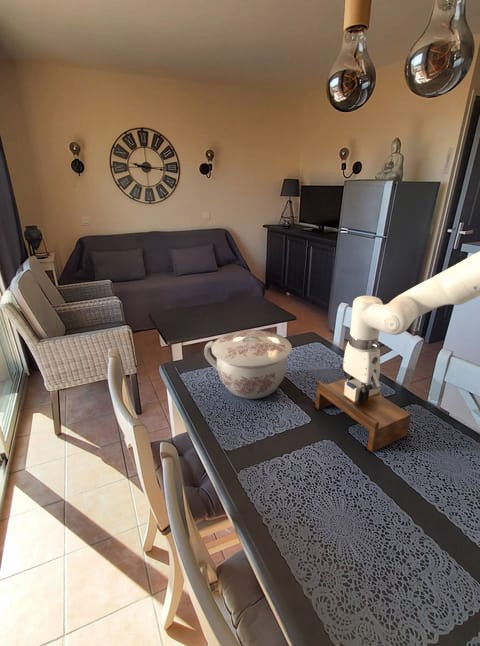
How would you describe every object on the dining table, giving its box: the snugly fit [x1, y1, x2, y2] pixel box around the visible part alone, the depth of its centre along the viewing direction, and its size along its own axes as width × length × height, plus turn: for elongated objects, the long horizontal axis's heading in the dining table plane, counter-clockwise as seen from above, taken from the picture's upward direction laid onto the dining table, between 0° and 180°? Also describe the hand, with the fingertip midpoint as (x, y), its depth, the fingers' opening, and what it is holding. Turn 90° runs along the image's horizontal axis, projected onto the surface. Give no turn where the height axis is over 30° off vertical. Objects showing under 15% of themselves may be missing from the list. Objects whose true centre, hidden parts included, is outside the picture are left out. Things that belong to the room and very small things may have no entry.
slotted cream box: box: [344, 378, 382, 405], centre depth 106 cm, size 10×4×6 cm, turn 118°
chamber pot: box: [203, 329, 293, 400], centre depth 126 cm, size 28×28×21 cm
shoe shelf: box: [315, 377, 412, 453], centre depth 109 cm, size 14×24×10 cm, turn 28°
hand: (356, 396), depth 106 cm, fingers closed on slotted cream box, 4 cm apart
